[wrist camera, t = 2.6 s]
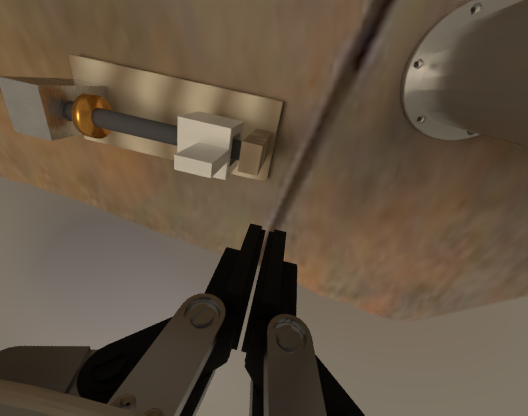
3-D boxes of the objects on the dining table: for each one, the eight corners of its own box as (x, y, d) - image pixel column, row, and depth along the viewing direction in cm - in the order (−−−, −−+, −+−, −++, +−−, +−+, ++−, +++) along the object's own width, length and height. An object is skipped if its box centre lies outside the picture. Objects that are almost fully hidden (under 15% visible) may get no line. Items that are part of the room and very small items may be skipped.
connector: (130, 91, 28) (68, 92, 21) (134, 132, 30) (79, 147, 23) (77, 78, 28) (-4, 76, 21) (84, 121, 31) (15, 131, 23)
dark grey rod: (247, 140, 24) (243, 144, 22) (245, 158, 25) (240, 163, 23) (61, 97, 25) (43, 97, 23) (65, 116, 26) (48, 118, 24)
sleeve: (243, 121, 25) (214, 138, 16) (237, 165, 27) (209, 199, 19) (199, 111, 25) (147, 123, 17) (197, 155, 27) (151, 185, 19)
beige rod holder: (283, 101, 27) (275, 106, 19) (267, 178, 32) (255, 207, 24) (79, 55, 28) (-6, 43, 21) (93, 136, 33) (28, 152, 25)
